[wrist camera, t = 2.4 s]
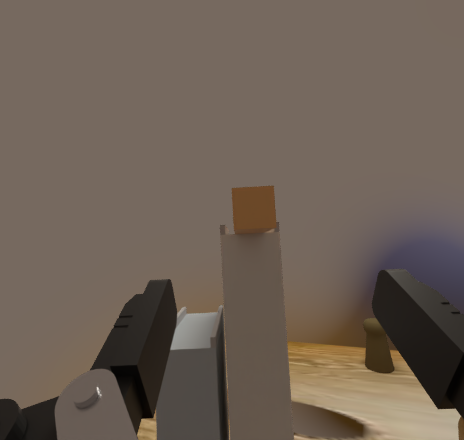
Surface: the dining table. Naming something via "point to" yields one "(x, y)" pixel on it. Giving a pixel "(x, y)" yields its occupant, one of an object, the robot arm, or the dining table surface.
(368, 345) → the cork
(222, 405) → the grey box
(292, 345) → the dining table surface
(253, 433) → the tall pale grey pillar
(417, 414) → the dining table surface
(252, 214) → the bar
